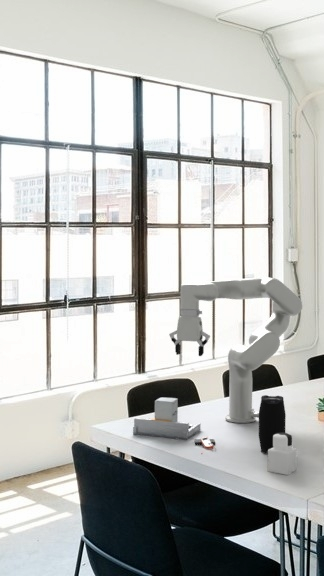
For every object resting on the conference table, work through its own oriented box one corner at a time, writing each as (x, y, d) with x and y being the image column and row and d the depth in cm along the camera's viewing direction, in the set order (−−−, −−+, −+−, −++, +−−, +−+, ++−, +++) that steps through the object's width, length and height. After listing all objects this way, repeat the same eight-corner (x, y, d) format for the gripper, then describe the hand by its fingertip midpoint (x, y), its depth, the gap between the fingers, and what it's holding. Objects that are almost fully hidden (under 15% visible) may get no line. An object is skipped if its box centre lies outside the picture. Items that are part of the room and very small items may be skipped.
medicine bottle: (276, 466, 233) (277, 430, 233) (296, 469, 229) (297, 433, 229) (267, 471, 227) (267, 434, 227) (287, 475, 223) (288, 438, 223)
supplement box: (172, 434, 270) (172, 401, 269) (153, 432, 272) (154, 400, 271) (178, 430, 277) (178, 398, 276) (160, 428, 279) (160, 396, 278)
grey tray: (200, 430, 280) (200, 414, 279) (186, 440, 265) (186, 423, 265) (149, 425, 288) (149, 409, 287) (133, 434, 273) (133, 418, 273)
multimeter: (228, 457, 245) (228, 447, 245) (193, 456, 245) (193, 446, 245) (226, 443, 263) (226, 434, 263) (194, 443, 263) (194, 433, 263)
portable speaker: (254, 450, 252) (254, 395, 251) (277, 447, 255) (277, 393, 255) (266, 456, 244) (266, 400, 243) (289, 453, 247) (290, 398, 247)
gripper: (212, 313, 289) (212, 355, 290) (173, 311, 295) (172, 352, 296) (206, 314, 282) (206, 357, 283) (166, 313, 288) (166, 355, 289)
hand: (189, 355), depth 290 cm, fingers open, 9 cm apart
